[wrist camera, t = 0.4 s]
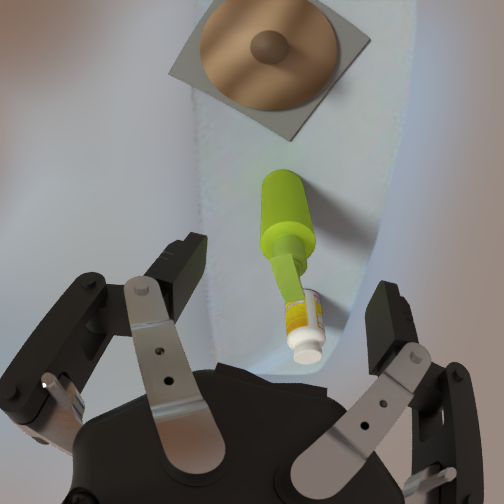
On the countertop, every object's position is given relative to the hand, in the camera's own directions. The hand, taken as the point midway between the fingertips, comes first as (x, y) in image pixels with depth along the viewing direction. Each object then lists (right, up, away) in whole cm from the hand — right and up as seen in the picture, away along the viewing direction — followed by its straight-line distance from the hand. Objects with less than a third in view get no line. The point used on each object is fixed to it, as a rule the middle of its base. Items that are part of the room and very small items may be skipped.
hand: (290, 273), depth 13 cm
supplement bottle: (+8, -8, +43) cm, 44 cm away
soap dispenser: (+2, +10, +28) cm, 30 cm away
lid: (0, +25, +16) cm, 30 cm away
